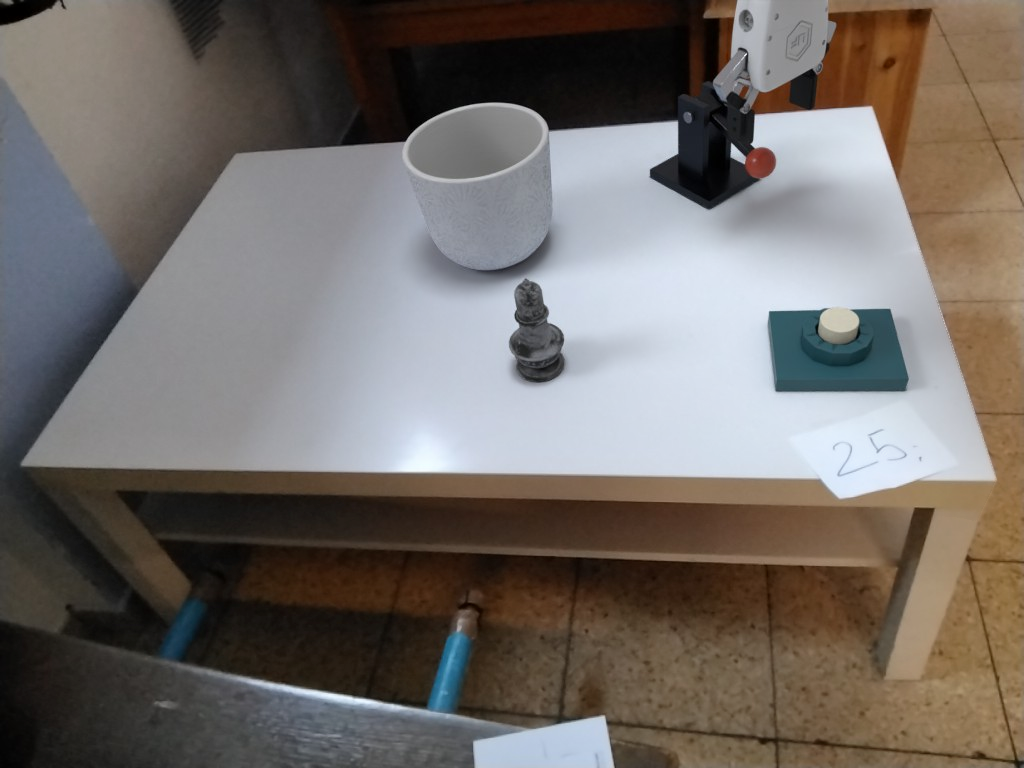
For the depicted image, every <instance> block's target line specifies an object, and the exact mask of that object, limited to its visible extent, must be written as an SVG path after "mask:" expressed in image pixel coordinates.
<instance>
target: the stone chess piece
mask: <svg viewBox="0 0 1024 768" xmlns="http://www.w3.org/2000/svg"><path fill="white" fill-rule="evenodd" d="M513 297H514V303H515V307H516V309H515V312H514V314H513V315H514V317H513V318H514V320H515V322H516V323H517V324H518V328H517V329H516V330H514V331H513V332H512V334H511V336H510V337H509V340H508V348H509V351H510V353H511V354H512V355H513V357H514V358H516V363H515V368H516V372H517V374H518V376H520V377H521V379H524V380H525V381H528V382H531V383H544V382H548V381H552V380H553V379H556V378H557V377H558V376H560V374H561V373H562V372H563V370H564V368H565V364H566V363H565V362H566V361H565V357H564V355H563V354H562V348H563V346H564V343H565V334H564V333H563V331H562V330H561V328H560V327H558V326H557V325H555V324H553V323H551V322H548V318H549V316H550V309H549V307H548V306H547V305H546V304H545V301H544V294H543V289H542V288H541V285H540V284H539V283H537V282H535V281H532V280H529V279H528V278H524V279H523V280H522V282H520V283H519V284H518V285H517V286H516V287H515V289H514V293H513Z"/></svg>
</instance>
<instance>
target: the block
mask: <svg viewBox="0 0 1024 768" xmlns="http://www.w3.org/2000/svg"><path fill="white" fill-rule="evenodd" d="M830 308H831V307H823V308H821V309H809V310H808V309H805V310H804V309H803V310H799V309H798V310H769V311H768V315H767V317H768V318H767V327H768V336H769V347H770V354H771V362H772V371H773V381H774V389H775V392H900V391H901V392H903V391H904V392H905V391H907V387H908V383H909V380H910V378H909V375H908V371H907V367H906V363H905V359H904V356H903V351H902V348H901V343H900V340H899V336H898V332H897V329H896V325H895V321H894V317H893V313H892V309H891V308H853V309H851V308H850V309H849V308H848V309H849V310H851V311H853V312H854V313H855V314H856V315H857V316H858V318H859V326H858V331H857V335H856V338H855V339H854V340H853V341H852V342H850V343H847V344H843V345H836V344H831V343H828V342H826V341H824V340H823V339H822V338H821V337H820V336H819V333H818V327H819V321H820V316H821V314H822V313H823V312H824V311H825V310H827V309H830Z"/></svg>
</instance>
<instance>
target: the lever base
mask: <svg viewBox="0 0 1024 768" xmlns="http://www.w3.org/2000/svg"><path fill="white" fill-rule="evenodd" d="M707 90H708V91H709V92H710V93H711V94H712V95H713V96H714V97H715V98H716V99H717V100H718V101H719V102H720V103H721V104H722V107H721V109H720V111H719V113H720V114H721V115H722V116H723V117H724V118H725V119H726V120H727V121H728V122H729V107H727V106H725V104H724V103H723V102H722V101H720V100H719V99H718V94H717V92H716V90H715V88H714V86H713V82H711V81H709V80H707V81H705V82H704V83H702V84H701V93H703V92H705V91H707ZM709 109H710V105H708V104H706V103H703V102H701V101H699V100H697V99H694V97H691V96H690V95H688V94H685V93H683V94H681V95H679V96H677V153H676V154H675V155H673V156H671V157H669V158H668V159H666V160H664V161H661V162H660V163H659V164H657V165H655V166H654V167H651V168H650V169H649V178H651V179H653V180H655V181H656V182H657V183H660V184H661V185H664V186H665V187H667V188H669V189H671V190H673V191H674V192H677V193H678V194H680V195H682V196H683V197H685V198H687V199H689V200H691V201H693V202H695V203H697V204H698V205H700V206H702V207H703V208H706V209H707V210H711V209H713V208H714V207H716V206H718V205H719V204H721V203H723V202H725V201H726V200H727V199H729V198H731V197H733V196H734V195H736V194H738V193H739V192H741V191H743V190H744V189H746V188H748V187H750V186H752V185H753V184H754V183H756V182H758V181H759V180H760V179H759V178H754V177H752V176H750V175H749V174H748V172H747V171H746V168H745V163H743V162H741V161H740V160H738V159H735V158H733V157H732V143H731V142H730V141H729V140H728V139H727V138H726V137H725V136H724V135H723V134H722V133H721V132H720V131H719V130H718V129H717V128H716V127H715V126H714V125H713V124H712V123H711V122H710V123H709Z"/></svg>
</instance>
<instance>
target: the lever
mask: <svg viewBox="0 0 1024 768" xmlns="http://www.w3.org/2000/svg"><path fill="white" fill-rule="evenodd" d="M693 98H694V99H697V100H699V101H701V102H703V103H706V104H708V105H710V109H709V123H710V122H711V123H712V124H713V125H714V126H715V127H716V128H717V129H718V130H719V131H720V132H721V133H722V134H723V135H724V136H725V137H726V138H727V139H728V140H729V141H730V142H731V145H733V146H734V147H735V148H736V149H737V150H738V151H739V152H740V153H741V155H743V157H745V160H744V164H745V168H746V171H747V172H748V174H749V175H750V176H752V177H754V178H759V180H761V179H766V178H767V177H769V176H771V174H773V173H774V171H775V170H776V167H777V156H776V155H775V152H774V151H772V150H771V149H770V148H768V147H765V146H762V147H761V146H759V147H754V145H752V143H751V144H750V145H746V144H743V143H741V142H739V141H737V140H734V139H732V138H730V137H729V135H728V126H729V122H728V121H727V120H726V119H725V118H724V117H723V116H722V115H721V114H720V113H719V111H720V109H721V107H722V104H721V103H720V102H719V101H718V100H717V99H716V98H715V97H714V96H713V95H712V94H711V93H710V92H709V91H708V90H707V91H705V92H703V93H702V92H701V93H699V94H698V95H695V96H694V97H693Z"/></svg>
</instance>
